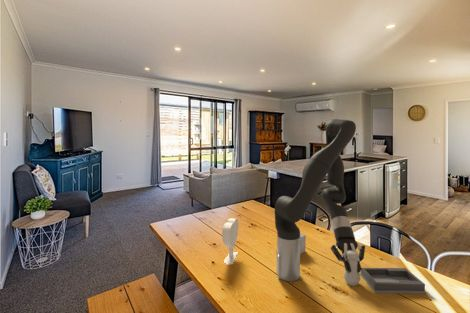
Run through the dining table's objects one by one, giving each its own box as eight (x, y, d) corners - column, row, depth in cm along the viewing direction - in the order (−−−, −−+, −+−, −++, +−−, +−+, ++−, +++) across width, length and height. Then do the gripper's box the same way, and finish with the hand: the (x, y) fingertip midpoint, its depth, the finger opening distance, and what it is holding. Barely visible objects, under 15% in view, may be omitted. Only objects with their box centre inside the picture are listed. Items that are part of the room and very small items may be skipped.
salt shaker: (346, 277, 101) (347, 246, 100) (361, 282, 97) (362, 250, 96) (342, 283, 96) (342, 252, 95) (357, 289, 93) (358, 256, 92)
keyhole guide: (375, 292, 91) (375, 284, 90) (360, 274, 103) (360, 267, 102) (425, 293, 90) (426, 285, 89) (404, 275, 102) (404, 267, 101)
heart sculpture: (230, 249, 127) (230, 215, 126) (240, 250, 126) (239, 216, 124) (221, 264, 112) (220, 226, 111) (231, 266, 111) (231, 227, 109)
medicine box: (297, 248, 127) (298, 232, 126) (305, 251, 124) (305, 234, 123) (289, 254, 121) (289, 237, 121) (297, 257, 118) (297, 239, 117)
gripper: (328, 225, 103) (338, 269, 92) (362, 225, 102) (376, 269, 91) (324, 232, 109) (333, 274, 97) (356, 232, 108) (369, 275, 97)
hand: (354, 271), depth 94 cm, fingers closed on salt shaker, 3 cm apart
